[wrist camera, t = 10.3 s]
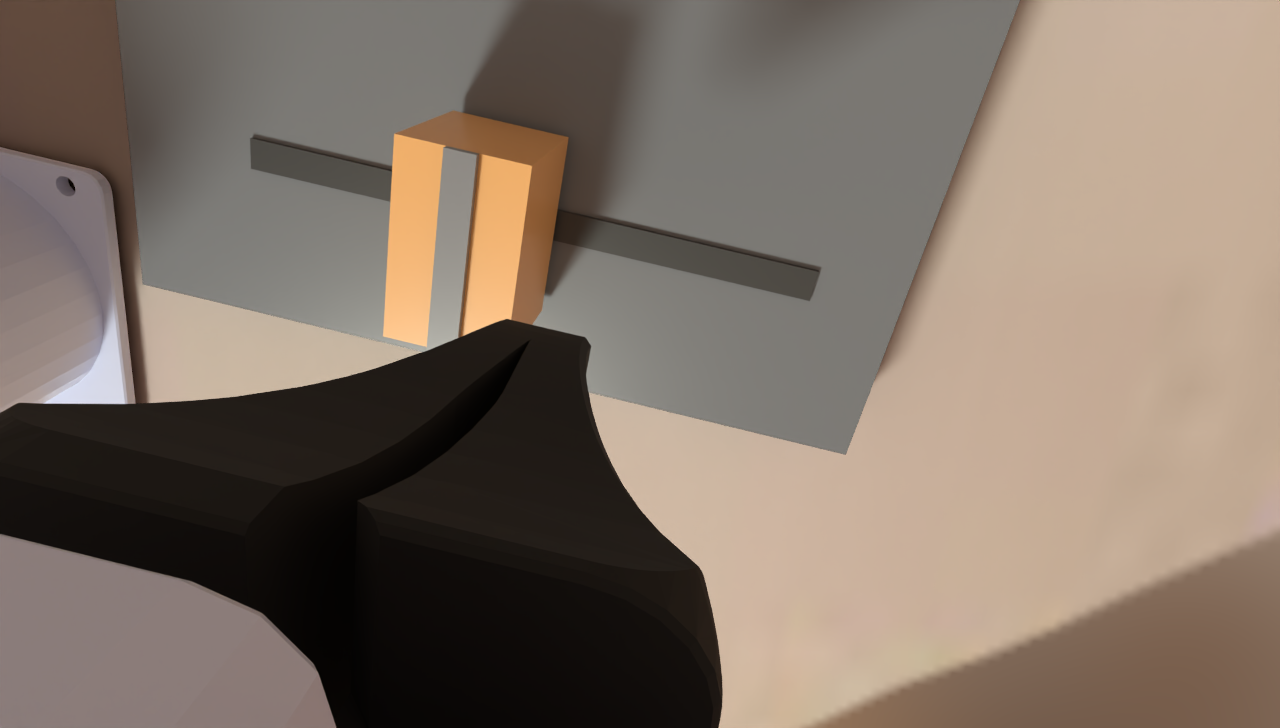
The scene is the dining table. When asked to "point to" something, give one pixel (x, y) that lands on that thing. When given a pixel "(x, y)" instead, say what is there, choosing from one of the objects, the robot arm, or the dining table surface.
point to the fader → (469, 226)
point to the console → (580, 171)
